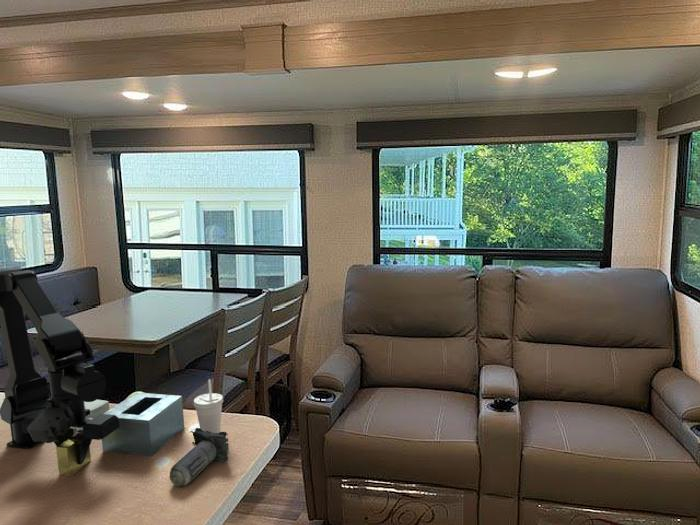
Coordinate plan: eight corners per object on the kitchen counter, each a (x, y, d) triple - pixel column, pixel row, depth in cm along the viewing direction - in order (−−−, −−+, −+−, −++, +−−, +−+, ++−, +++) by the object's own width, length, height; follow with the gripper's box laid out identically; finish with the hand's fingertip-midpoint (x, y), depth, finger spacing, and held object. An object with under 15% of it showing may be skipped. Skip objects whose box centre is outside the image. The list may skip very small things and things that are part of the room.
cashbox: (102, 451, 115) (99, 416, 114) (139, 424, 127) (136, 392, 126) (152, 456, 112) (148, 420, 111) (184, 428, 125) (181, 395, 124)
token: (59, 475, 106) (56, 446, 105) (80, 459, 112) (77, 432, 111) (70, 476, 105) (66, 448, 104) (91, 460, 111) (88, 433, 110)
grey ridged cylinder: (201, 460, 113) (165, 495, 102) (191, 427, 112) (154, 458, 100) (237, 459, 110) (205, 494, 98) (228, 424, 108) (194, 456, 97)
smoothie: (218, 447, 115) (214, 386, 113) (191, 445, 116) (186, 384, 114) (230, 433, 121) (226, 375, 119) (204, 431, 123) (200, 374, 120)
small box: (93, 429, 126) (91, 410, 125) (74, 426, 128) (72, 407, 127) (111, 419, 131) (109, 400, 130) (93, 416, 133) (91, 397, 132)
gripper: (-7, 403, 100) (3, 480, 103) (77, 410, 96) (86, 490, 98) (39, 381, 111) (48, 451, 113) (117, 387, 107) (124, 459, 109)
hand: (75, 462), depth 108 cm, fingers closed on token, 2 cm apart
